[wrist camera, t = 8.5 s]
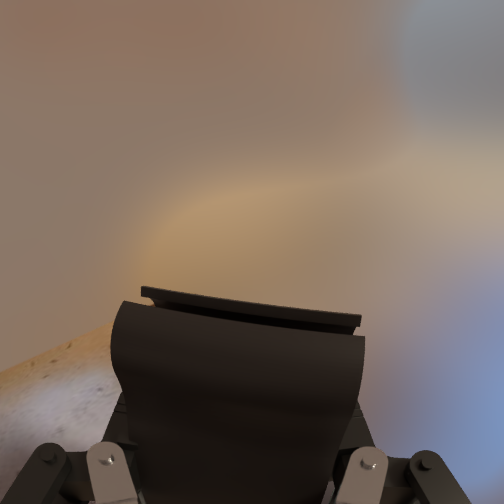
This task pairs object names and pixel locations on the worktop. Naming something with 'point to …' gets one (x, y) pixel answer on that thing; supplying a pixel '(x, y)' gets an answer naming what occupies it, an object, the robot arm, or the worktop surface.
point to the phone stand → (235, 396)
